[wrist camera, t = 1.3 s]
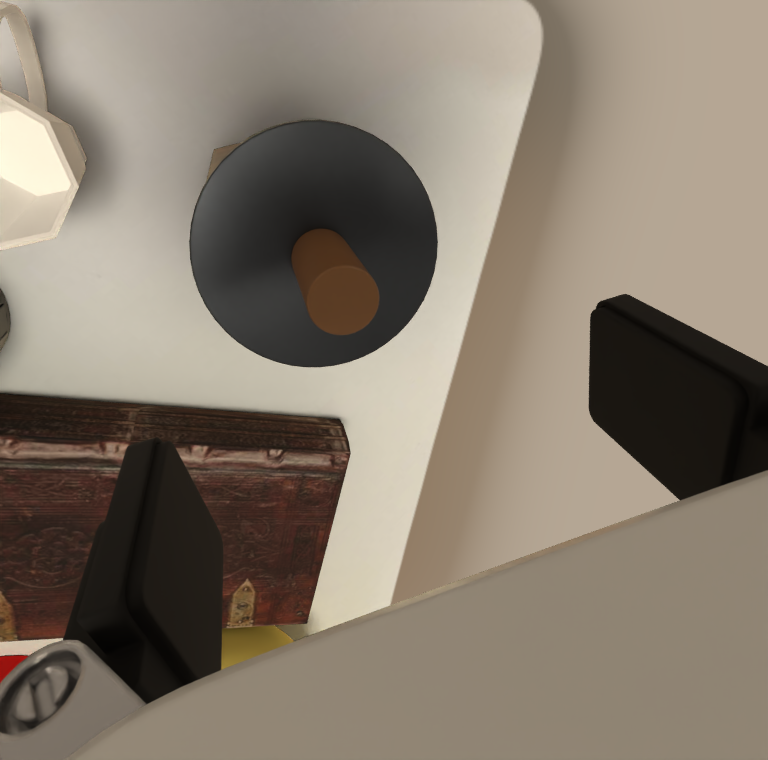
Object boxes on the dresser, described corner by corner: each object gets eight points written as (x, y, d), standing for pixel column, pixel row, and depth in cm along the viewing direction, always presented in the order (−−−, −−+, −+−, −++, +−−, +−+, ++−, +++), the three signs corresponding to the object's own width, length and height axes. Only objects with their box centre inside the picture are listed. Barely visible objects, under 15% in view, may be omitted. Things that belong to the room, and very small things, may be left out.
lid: (145, 156, 18) (115, 180, 13) (414, 91, 19) (471, 93, 15) (241, 389, 23) (243, 464, 19) (447, 327, 25) (498, 383, 20)
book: (340, 416, 42) (352, 453, 38) (300, 578, 50) (306, 623, 46) (-103, 382, 33) (-151, 426, 28) (-65, 589, 41) (-99, 647, 36)
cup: (-26, 203, 29) (-103, 239, 22) (-52, -10, 25) (-158, -46, 18) (113, 224, 31) (81, 263, 25) (111, 32, 27) (71, 15, 20)
